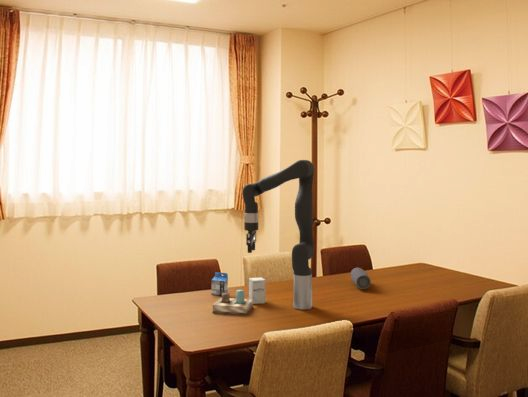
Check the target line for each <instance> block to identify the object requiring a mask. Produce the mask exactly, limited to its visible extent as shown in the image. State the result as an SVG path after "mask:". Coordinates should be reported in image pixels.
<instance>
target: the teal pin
mask: <svg viewBox="0 0 528 397" xmlns="http://www.w3.org/2000/svg"><path fill="white" fill-rule="evenodd" d="M235 292H236V294H235V296H236V297H235V299H236V304H244V299H245V290H244V289H236V291H235Z"/></svg>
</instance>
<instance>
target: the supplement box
mask: <svg viewBox="0 0 528 397" xmlns="http://www.w3.org/2000/svg"><path fill="white" fill-rule="evenodd" d="M248 299H252V300H253V305H257V304H266V279H265V278H263V277H249V278H248Z"/></svg>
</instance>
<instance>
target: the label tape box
mask: <svg viewBox="0 0 528 397" xmlns="http://www.w3.org/2000/svg"><path fill="white" fill-rule="evenodd" d="M228 289H229V276H228V273H227V272H218V271H215V272H214V276H213V278H212V279H211V290H210V291H211V295H214V296H221V297H222V293H229V292H228V291H229V290H228Z"/></svg>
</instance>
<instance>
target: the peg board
mask: <svg viewBox="0 0 528 397" xmlns="http://www.w3.org/2000/svg"><path fill="white" fill-rule="evenodd" d="M230 295H231V294H230V292H228V293H222V296H221V297H220V298H219V299H218V300H216V302H214V303H213V304H212V313H213V314H224V315H241V316H247V315H248V314H249V312H250V311H251V310H252V309H253V308H254V306H253V305H254V304H253V300H252V299H249V298H244V304H236V298H233V297H232V298H231V296H230Z"/></svg>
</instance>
